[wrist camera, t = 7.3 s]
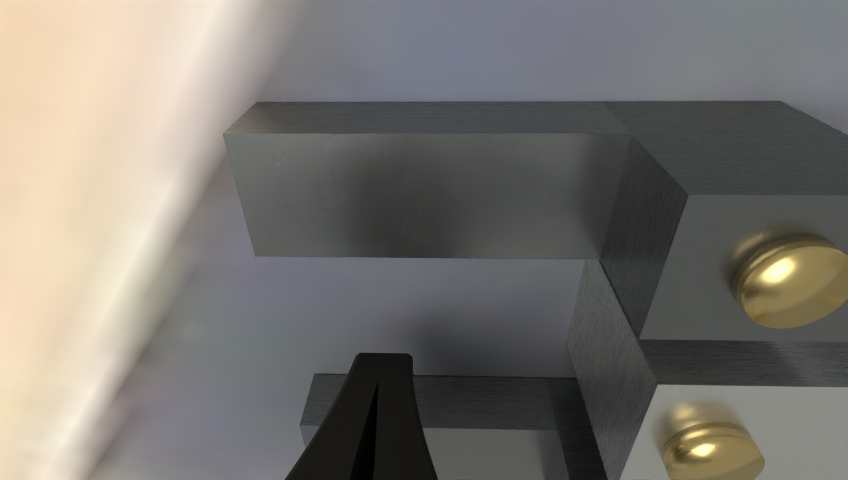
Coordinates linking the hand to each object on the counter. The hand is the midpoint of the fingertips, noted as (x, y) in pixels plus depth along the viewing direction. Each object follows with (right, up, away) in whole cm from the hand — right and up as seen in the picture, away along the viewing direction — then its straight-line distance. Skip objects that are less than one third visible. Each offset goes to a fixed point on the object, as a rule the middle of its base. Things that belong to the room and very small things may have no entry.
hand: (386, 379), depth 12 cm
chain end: (+3, +2, +2) cm, 4 cm away
